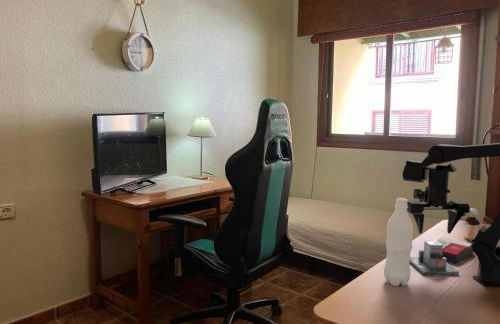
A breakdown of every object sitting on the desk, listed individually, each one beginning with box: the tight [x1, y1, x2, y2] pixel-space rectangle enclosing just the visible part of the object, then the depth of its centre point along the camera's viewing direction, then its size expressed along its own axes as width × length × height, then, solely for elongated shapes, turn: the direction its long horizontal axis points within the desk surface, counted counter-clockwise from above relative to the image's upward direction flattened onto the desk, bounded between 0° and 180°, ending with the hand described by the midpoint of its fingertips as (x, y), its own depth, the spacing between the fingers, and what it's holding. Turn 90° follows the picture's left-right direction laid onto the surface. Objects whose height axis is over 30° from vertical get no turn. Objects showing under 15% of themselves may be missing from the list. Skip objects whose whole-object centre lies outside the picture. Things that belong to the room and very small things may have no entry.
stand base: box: [409, 249, 460, 276], centre depth 131 cm, size 12×11×5 cm
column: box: [423, 240, 443, 266], centre depth 130 cm, size 4×4×7 cm
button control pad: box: [436, 236, 474, 265], centre depth 143 cm, size 11×4×15 cm
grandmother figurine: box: [463, 207, 482, 243], centre depth 159 cm, size 8×4×13 cm, turn 25°
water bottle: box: [383, 197, 414, 287], centre depth 118 cm, size 7×7×25 cm
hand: (434, 233), depth 130 cm, fingers open, 9 cm apart
